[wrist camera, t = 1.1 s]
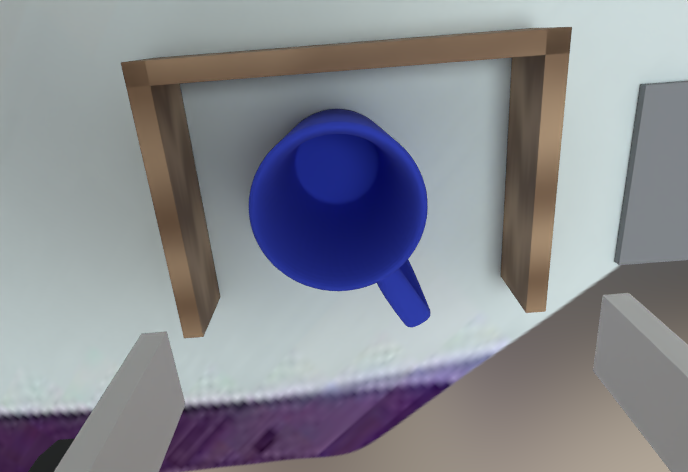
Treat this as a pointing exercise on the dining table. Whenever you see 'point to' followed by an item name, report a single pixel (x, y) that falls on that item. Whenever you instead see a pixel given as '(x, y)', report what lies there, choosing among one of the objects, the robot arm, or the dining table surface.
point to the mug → (343, 209)
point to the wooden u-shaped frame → (521, 44)
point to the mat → (657, 179)
